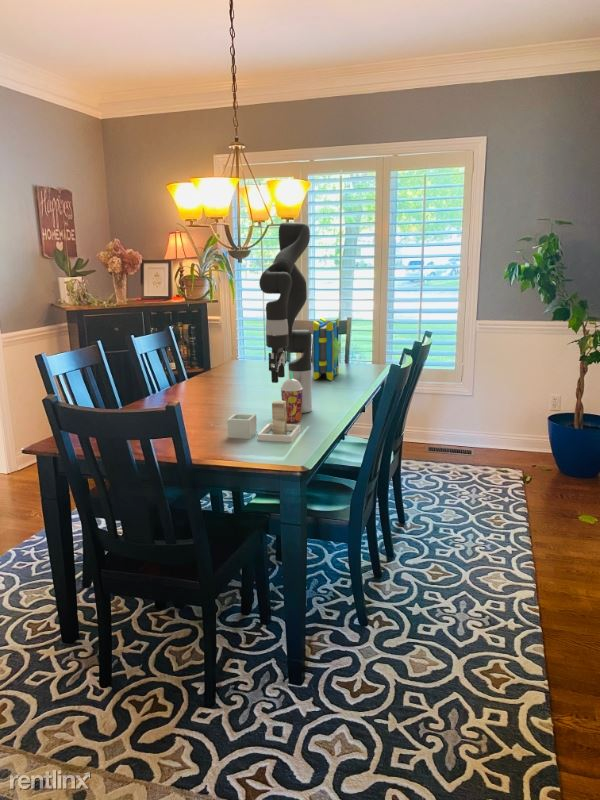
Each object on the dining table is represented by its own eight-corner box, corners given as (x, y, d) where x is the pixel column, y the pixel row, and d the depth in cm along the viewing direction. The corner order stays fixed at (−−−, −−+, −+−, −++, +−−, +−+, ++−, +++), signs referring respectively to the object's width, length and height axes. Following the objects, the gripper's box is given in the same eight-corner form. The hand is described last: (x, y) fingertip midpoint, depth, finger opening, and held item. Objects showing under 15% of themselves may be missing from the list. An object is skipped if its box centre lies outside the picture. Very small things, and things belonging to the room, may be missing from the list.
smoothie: (280, 420, 228) (279, 369, 223) (302, 419, 228) (301, 369, 224) (281, 426, 220) (281, 373, 215) (304, 425, 220) (303, 373, 216)
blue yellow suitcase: (343, 373, 319) (343, 317, 312) (335, 381, 297) (335, 322, 290) (317, 372, 323) (317, 317, 316) (307, 380, 301) (307, 322, 294)
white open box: (235, 433, 212) (234, 413, 210) (256, 434, 210) (256, 414, 208) (228, 440, 204) (227, 419, 202) (250, 441, 202) (249, 420, 201)
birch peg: (275, 433, 208) (274, 400, 205) (286, 434, 207) (285, 401, 205) (272, 436, 204) (271, 403, 202) (284, 437, 204) (283, 403, 201)
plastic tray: (268, 431, 214) (268, 423, 213) (300, 432, 211) (300, 424, 211) (257, 442, 201) (257, 434, 200) (291, 444, 198) (291, 436, 197)
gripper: (271, 329, 205) (273, 375, 209) (260, 335, 191) (261, 384, 195) (292, 330, 203) (293, 376, 207) (282, 335, 190) (283, 384, 194)
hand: (278, 379), depth 201 cm, fingers open, 8 cm apart
